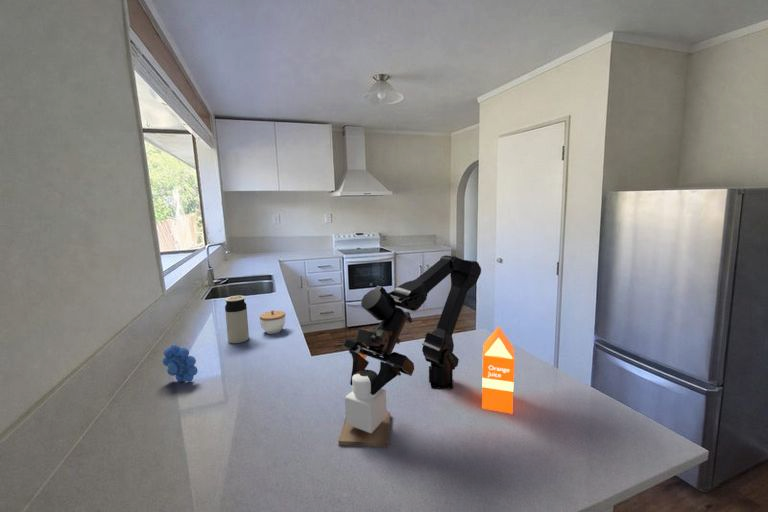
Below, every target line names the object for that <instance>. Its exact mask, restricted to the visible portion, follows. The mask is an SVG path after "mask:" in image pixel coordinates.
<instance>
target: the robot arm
mask: <svg viewBox="0 0 768 512" xmlns="http://www.w3.org/2000/svg"><path fill="white" fill-rule="evenodd" d="M481 274H482V268H481V265H480V263H479V262H478V261H475V260H469V259H468V260H467V259H462V258H459V257H458V256H455V255H446V254H445V255H443V256H440V259H439V260H438V261H437V262H434V264H433V265H432V266H430V267H428V269H427V270H426V271H424V272H423V273H422V274H421V275H419V276H418V277H417V278H415V279H413V280H409V281H406V282H404V283H402V284H400V285H397V287H396V288H394V290H392V291H390V292H387V290H386V289H385V288H384V287H383V286H382V285H376V287H375V288H373V289H371V290H369V291H368V292H367V293H365V294H364V295H363V297H362V298H361V301H360V305H361V308H362V309H364V310H365V311H366V312H368V313H369V314H370V315H371V316H372V317H373V318H374V319H375V320H377V321H380V323H379V325H378V326H376V325H375V326H374V327H373V329H372V330H369V329H365V328H361V327H359V328H358V330H357V334H356V337H355V338H352V337H349V338H347V339H345V342H344V343H343V345H342V347H343V348H344V349H346V350H347V351H348V353H349V354H350V355H351V359H352V368H351V369H352V370H351V376H350V382H349V385H350V386H352V376H353V375H354V373H356V372H357V371H360V370H366V369H367V367H368V365H369V363H370V362H369V361H368V360H366V359H367V357H368V358H369V357H370V358H372V359H375V360H378V361H380V362H379V363H380V365H379V368H380V369H379V372H378V373H377V375H378V376H377V378H376V380H375V382H374V384H373V387H372V389H371V392H370V393H371V394H372V395H374V394H376V393H377V392H378V391H379V390H380V389H383V387H384V386H386V385H387V384H388V383H389V382H390V381H392V380H393V379H395V378H396V377H398V376H399V377H401V376H402V374H403V375H407V376H410V377H411V376H413V373H414V370H415V364H414V362H413V361H412V360H411V359H410V358H409V357H408V356H407V355H405V354H401V353H399V352H396V351H394V348H395V347H396V345H400V342H401V339H400V338H399V337H400V335H401V333H402V331H403V328H404V327H405V324H408V323H409V324H412V323H413V319H412V317H411V313H410V312H407V311H404V310H405V309H406V310H408V311H413V312H416V311H418V310H419V309H420V308H421V307H422V306H423V305H424V303H425V302H426V301H427V296H428V294H429V293H430V291H432V290H433V289H434V288H435V287H436V286H438V284H440V283H441V282H442V281H444V279H446V277H448V276H449V275H450V281H451V286H450V290H449V292H448V295H447V297H446V301H445V303H444V306H443V308H442V312H441V314H440V317H439V320H438V322H437V326H436V328H435V329H434V330H433V331H432V332H429V331H427V333H426V335H425V337H424V340H423V342H422V343H421V346H422V351H421V352H422V354H423V356H424V359H425V362H428V363H430V365H429V366H428V383H429V384H430V388H431V389H454V384H453V383H454V382H453V380H454V379H453V378H454V377H453V375H454V374H453V371H454V370H455V369H456V368H457V367H458V365H459V360H460V359H459V358H458V357H457V356H456V355H455V354H454V353H453V352H454V347H455V344H454V339H453V333H454V331H455V328H456V325H457V322H458V319H459V316H460V314H461V311H462V308H463V306H464V305H463V304H464V302H465V300H466V297H467V293H468V292H469V290H470V289H472V288H473V287H474V286H475V285H476V284H477V281H478V280H479V278H480V275H481ZM403 309H404V310H403Z"/></svg>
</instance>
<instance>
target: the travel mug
mask: <svg viewBox="0 0 768 512" xmlns="http://www.w3.org/2000/svg"><path fill="white" fill-rule="evenodd" d="M245 299H246V297H245V296H244V295H232V296H228V297H225V298H224V301H225V302H226V304H225V306H224V311H225V313H224V314H225V323H226V333H227V342H228V343H230V344H241V343H244V342H246V341H248V340H249V338H250V334H249V322H248V320H249V319H248V310H247V309H248V308H247V307H248V306H247V303H246V302H245Z"/></svg>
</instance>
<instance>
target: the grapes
mask: <svg viewBox="0 0 768 512" xmlns="http://www.w3.org/2000/svg"><path fill="white" fill-rule="evenodd" d="M163 355H164V358H163V359H162V364H163V365H164V366H166V367H167V370H166V371H167V374H168V375H169V376H172V377H175V380H176V381H177V382H179V383H181V382H184V381H185V382H189V383H190V382H192V381H193V379H194V376H196V375H197V374H198V367H197V366H196V363H197V359H196V358H195V357H194V356H192V355H190V351H189V350H188V348H187V347H180V346H179V345H178V344H172V345H171V346H170V347H168V348H165V349H164V351H163Z"/></svg>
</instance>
